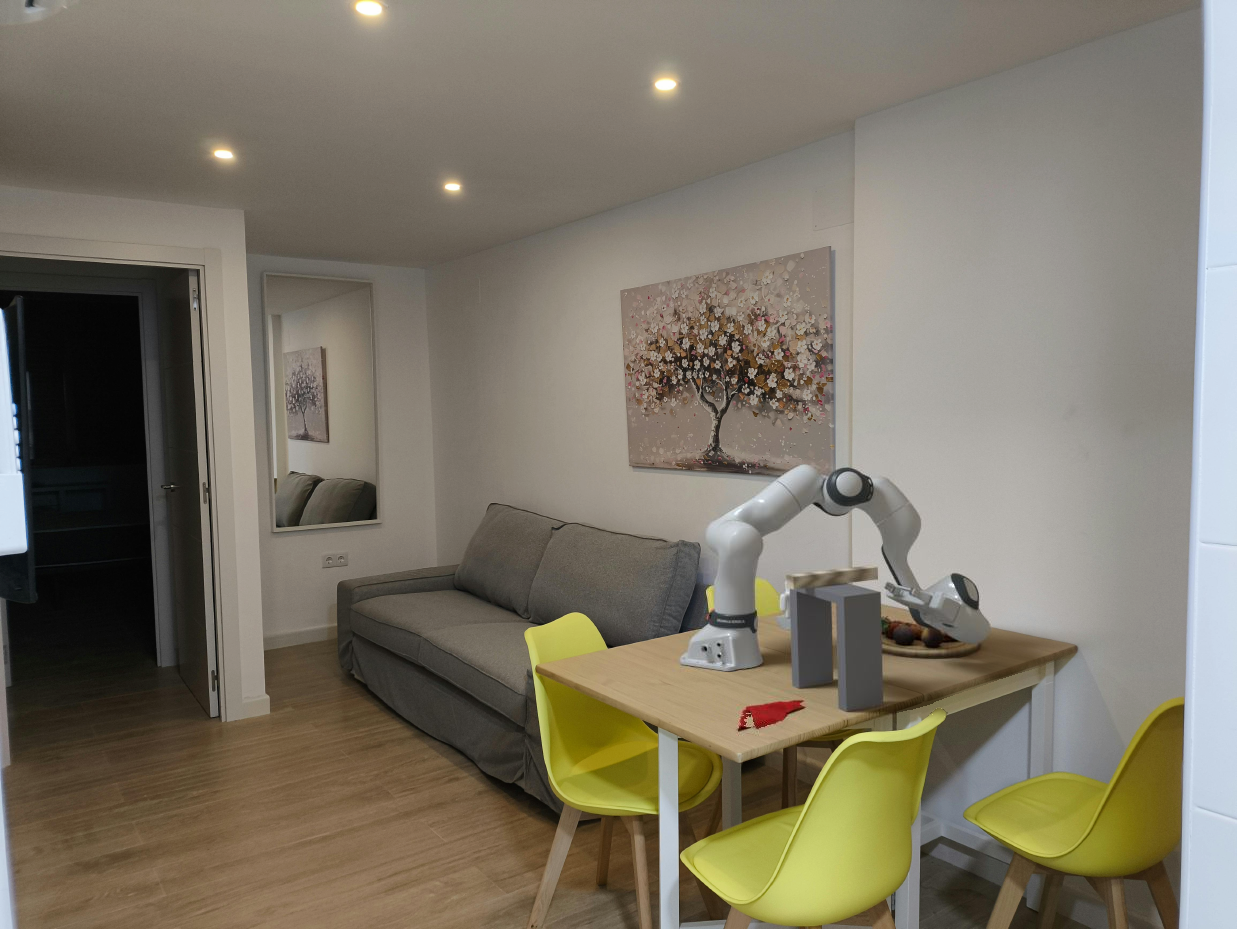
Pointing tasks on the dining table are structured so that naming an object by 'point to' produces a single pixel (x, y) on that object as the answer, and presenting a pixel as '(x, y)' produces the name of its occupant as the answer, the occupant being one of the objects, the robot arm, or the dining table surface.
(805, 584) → the maple bar
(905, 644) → the wooden plate with food
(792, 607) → the grey arch
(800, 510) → the robot arm
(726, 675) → the dining table surface
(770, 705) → the cloth
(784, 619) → the figurine
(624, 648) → the dining table surface
